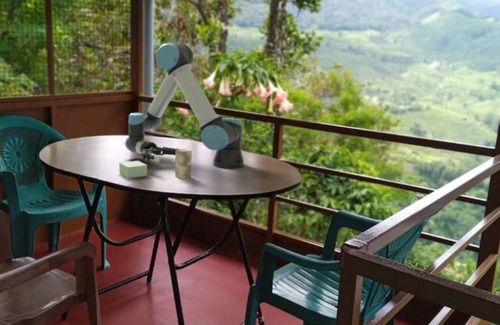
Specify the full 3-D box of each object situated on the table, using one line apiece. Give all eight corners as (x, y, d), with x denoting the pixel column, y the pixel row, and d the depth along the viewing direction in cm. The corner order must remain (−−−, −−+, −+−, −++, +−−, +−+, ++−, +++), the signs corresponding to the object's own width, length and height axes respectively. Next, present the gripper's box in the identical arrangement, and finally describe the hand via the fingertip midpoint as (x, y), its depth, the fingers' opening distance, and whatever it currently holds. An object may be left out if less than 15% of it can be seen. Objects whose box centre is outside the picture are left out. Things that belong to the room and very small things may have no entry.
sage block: (138, 171, 233) (138, 160, 231) (147, 176, 226) (147, 165, 224) (119, 173, 227) (119, 162, 226) (127, 178, 220) (127, 167, 219)
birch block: (184, 174, 230) (185, 148, 227) (191, 177, 226) (191, 150, 224) (175, 176, 227) (175, 149, 224) (181, 178, 223) (182, 151, 220)
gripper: (168, 153, 255) (194, 162, 240) (123, 159, 239) (147, 169, 224) (168, 138, 254) (194, 146, 238) (123, 143, 237) (147, 152, 222)
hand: (171, 157), depth 231 cm, fingers open, 13 cm apart
